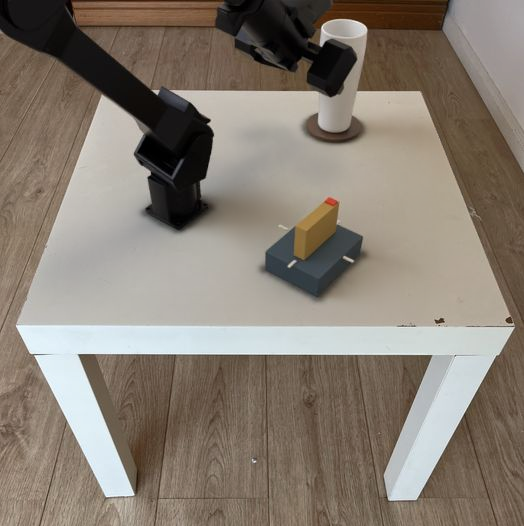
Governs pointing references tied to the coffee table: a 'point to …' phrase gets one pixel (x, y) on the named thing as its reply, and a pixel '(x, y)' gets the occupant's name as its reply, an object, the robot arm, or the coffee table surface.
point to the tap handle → (316, 228)
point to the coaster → (332, 137)
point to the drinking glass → (341, 106)
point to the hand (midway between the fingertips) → (318, 79)
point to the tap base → (313, 259)
